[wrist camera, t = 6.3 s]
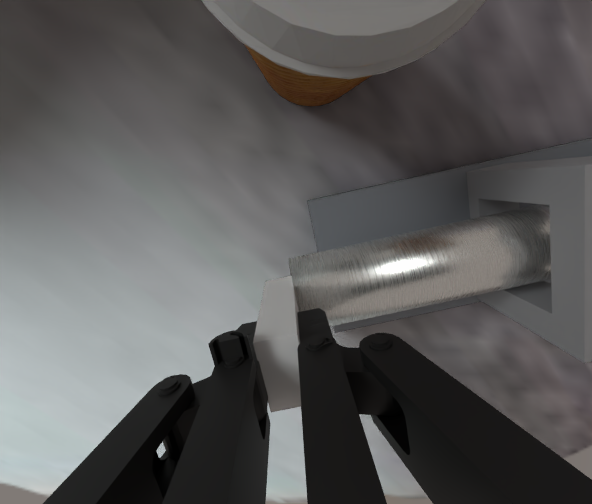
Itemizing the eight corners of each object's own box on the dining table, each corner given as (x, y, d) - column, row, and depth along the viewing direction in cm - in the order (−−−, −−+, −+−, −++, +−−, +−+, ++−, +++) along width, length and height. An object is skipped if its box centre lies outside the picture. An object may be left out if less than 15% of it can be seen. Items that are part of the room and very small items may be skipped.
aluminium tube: (302, 313, 19) (307, 349, 15) (287, 249, 18) (288, 268, 14) (652, 238, 19) (754, 254, 15) (656, 169, 18) (766, 165, 14)
